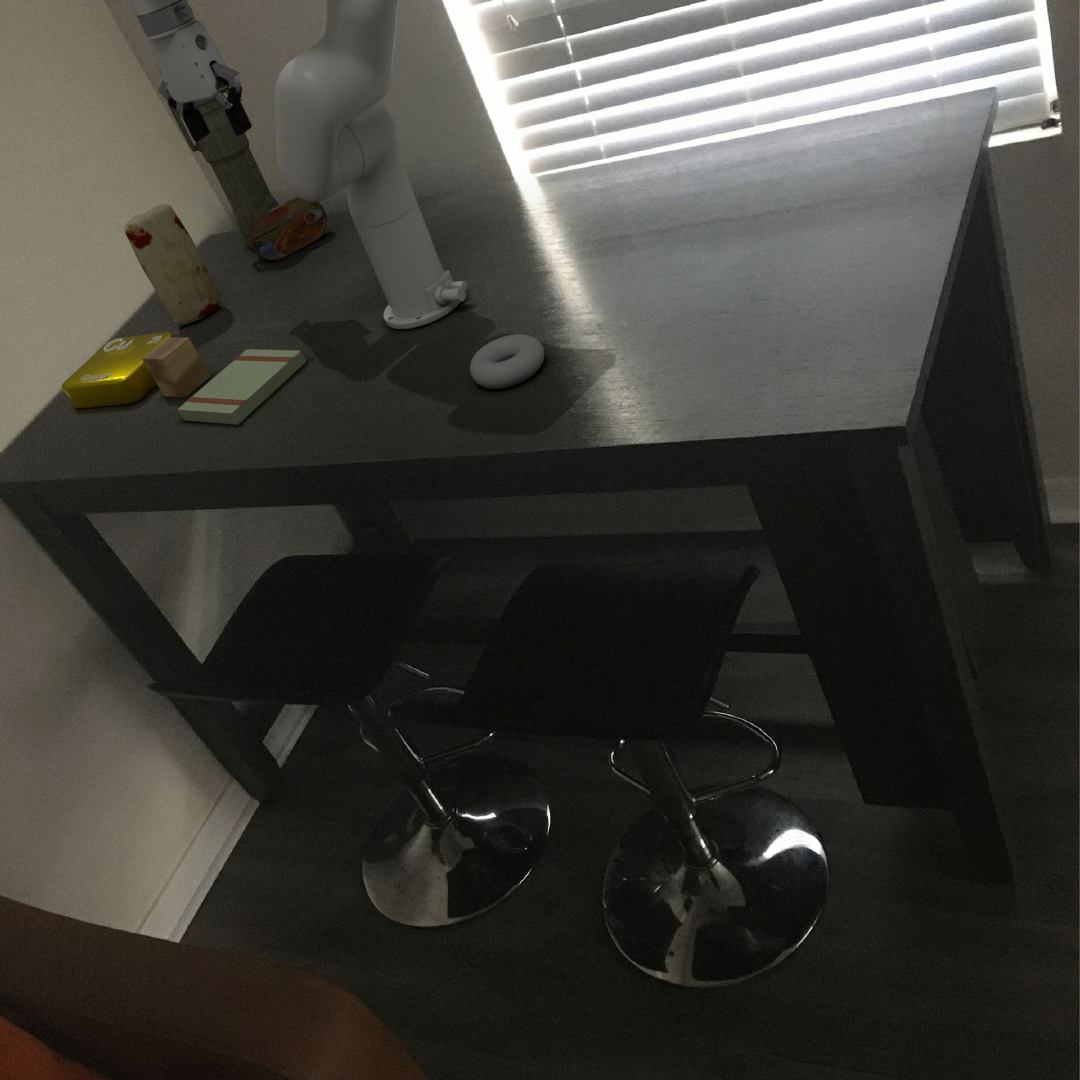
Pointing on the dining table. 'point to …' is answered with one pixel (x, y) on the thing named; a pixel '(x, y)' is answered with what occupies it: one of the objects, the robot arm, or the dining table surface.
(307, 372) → the dining table surface
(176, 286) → the food model
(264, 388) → the towel
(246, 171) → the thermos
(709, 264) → the dining table surface
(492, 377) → the donut
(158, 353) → the block
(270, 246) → the tin
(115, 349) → the element tile
